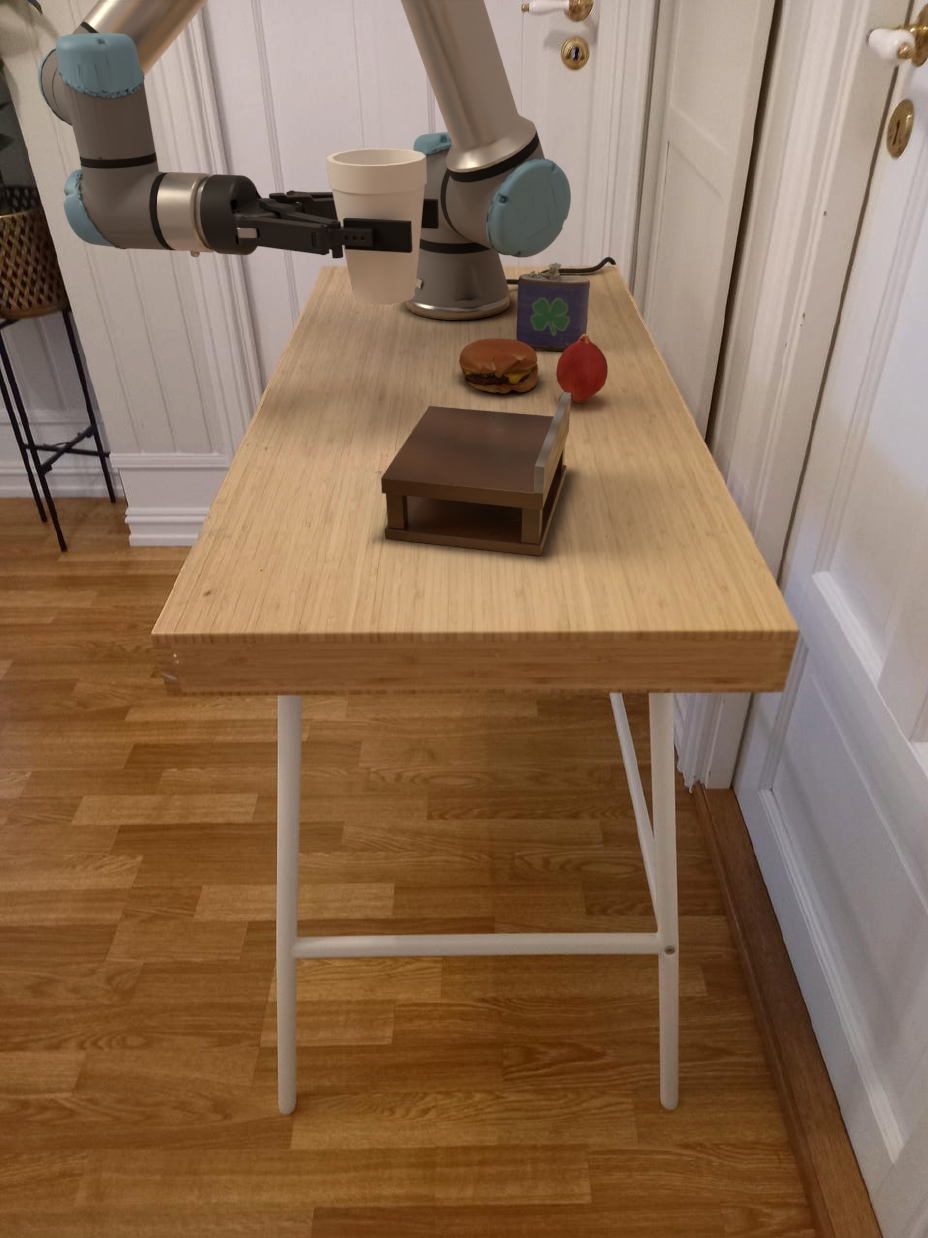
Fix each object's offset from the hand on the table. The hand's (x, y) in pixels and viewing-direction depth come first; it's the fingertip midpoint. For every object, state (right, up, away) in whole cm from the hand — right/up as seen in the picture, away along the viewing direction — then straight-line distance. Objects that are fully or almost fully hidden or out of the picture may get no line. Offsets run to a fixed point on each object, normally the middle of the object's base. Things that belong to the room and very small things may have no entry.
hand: (424, 224), depth 92 cm
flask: (+15, -3, +31) cm, 35 cm away
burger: (+8, -10, +22) cm, 25 cm away
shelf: (+5, -28, -4) cm, 29 cm away
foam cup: (-4, -5, +5) cm, 9 cm away
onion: (+17, -14, +16) cm, 27 cm away
